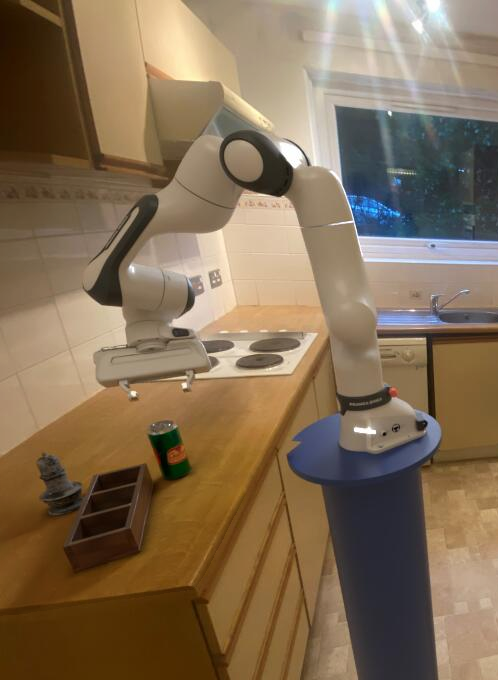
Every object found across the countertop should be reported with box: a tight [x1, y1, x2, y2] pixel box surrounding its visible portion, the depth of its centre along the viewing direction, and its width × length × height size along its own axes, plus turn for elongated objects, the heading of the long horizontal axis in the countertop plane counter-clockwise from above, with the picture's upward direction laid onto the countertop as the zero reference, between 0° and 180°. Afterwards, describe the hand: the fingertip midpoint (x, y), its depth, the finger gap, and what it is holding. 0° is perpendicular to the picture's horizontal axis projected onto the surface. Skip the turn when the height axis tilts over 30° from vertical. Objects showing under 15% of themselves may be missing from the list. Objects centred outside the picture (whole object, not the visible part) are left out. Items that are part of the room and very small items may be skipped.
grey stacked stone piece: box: [35, 451, 84, 516], centre depth 81 cm, size 6×6×12 cm
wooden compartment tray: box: [62, 462, 155, 573], centre depth 78 cm, size 8×23×5 cm, turn 33°
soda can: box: [146, 419, 192, 481], centre depth 91 cm, size 5×5×12 cm
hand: (161, 395), depth 95 cm, fingers open, 8 cm apart
